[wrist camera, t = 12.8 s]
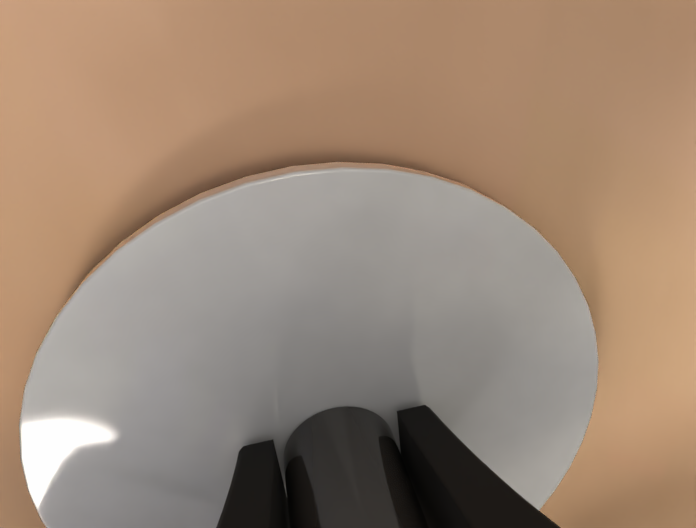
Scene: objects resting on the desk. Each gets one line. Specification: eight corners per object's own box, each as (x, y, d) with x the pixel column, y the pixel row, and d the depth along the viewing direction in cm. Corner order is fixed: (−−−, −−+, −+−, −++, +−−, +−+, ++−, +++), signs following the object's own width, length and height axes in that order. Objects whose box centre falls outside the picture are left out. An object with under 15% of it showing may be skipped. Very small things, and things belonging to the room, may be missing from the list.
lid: (138, 637, 13) (95, 892, 9) (-76, 214, 8) (-376, 381, 4) (553, 525, 15) (668, 702, 11) (594, 109, 10) (840, 159, 6)
